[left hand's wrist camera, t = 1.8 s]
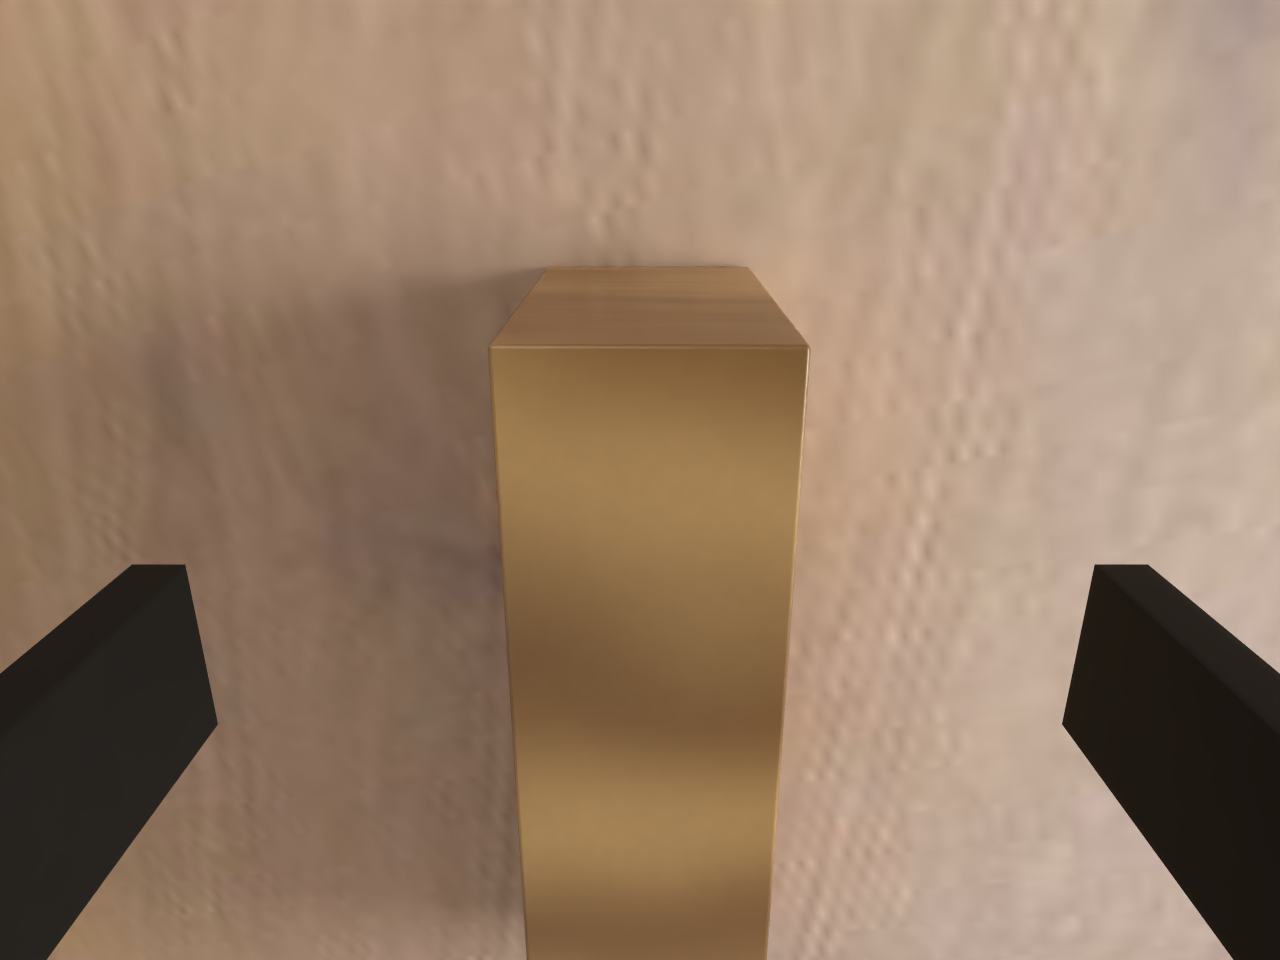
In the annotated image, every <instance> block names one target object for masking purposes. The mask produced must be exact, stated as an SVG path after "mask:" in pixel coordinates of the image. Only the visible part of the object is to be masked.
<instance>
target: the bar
mask: <svg viewBox="0 0 1280 960" xmlns="http://www.w3.org/2000/svg"><path fill="white" fill-rule="evenodd" d="M488 356H489V372H490V388H491V404H492V419H493V435H494V451H495V467H496V482H497V498H498V514H499V530H500V545H501V561H502V577H503V593H504V608H505V624H506V640H507V656H508V671H509V687H510V703H511V719H512V734H513V750H514V766H515V782H516V797H517V813H518V829H519V845H520V860H521V876H522V892H523V908H524V923H525V939H526V955H527V960H767V948H768V934H769V920H770V906H771V892H772V878H773V864H774V850H775V837H776V823H777V809H778V795H779V781H780V767H781V753H782V739H783V725H784V711H785V697H786V683H787V669H788V656H789V642H790V628H791V614H792V600H793V586H794V572H795V558H796V544H797V530H798V516H799V502H800V488H801V475H802V461H803V447H804V433H805V419H806V405H807V391H808V377H809V363H810V347H809V345H808V344H807V342H806V341H805V340H804V338H803V337H802V336H801V335H800V333H799V332H798V331H797V329H796V328H795V327H794V325H793V324H792V323H791V322H790V320H789V319H788V318H787V316H786V315H785V314H784V313H783V311H782V310H781V309H780V307H779V306H778V305H777V303H776V302H775V301H774V300H773V298H772V297H771V296H770V294H769V293H768V292H767V290H766V289H765V288H764V287H763V285H762V284H761V283H760V281H759V280H758V279H757V277H756V276H755V275H754V274H753V272H752V271H751V270H750V268H748V267H548V268H547V270H546V271H545V272H544V273H543V275H542V276H541V277H540V279H539V280H538V281H537V283H536V284H535V285H534V287H533V288H532V289H531V291H530V292H529V293H528V295H527V296H526V297H525V299H524V300H523V301H522V303H521V304H520V305H519V307H518V308H517V309H516V311H515V312H514V313H513V315H512V316H511V317H510V319H509V320H508V321H507V322H506V324H505V325H504V326H503V328H502V329H501V330H500V332H499V333H498V334H497V336H496V337H495V338H494V340H493V341H492V342H491V344H490V345H489V347H488Z"/></svg>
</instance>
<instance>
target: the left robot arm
mask: <svg viewBox="0 0 1280 960" xmlns="http://www.w3.org/2000/svg"><path fill="white" fill-rule="evenodd" d="M217 725H218V722H217V718H216V713H215V708H214V703H213V698H212V693H211V688H210V683H209V678H208V674H207V669H206V664H205V659H204V654H203V649H202V644H201V639H200V634H199V630H198V625H197V620H196V615H195V610H194V605H193V600H192V595H191V590H190V586H189V581H188V576H187V571H186V566H185V565H131V566H130V567H129V568H127V569H126V570H125V571H124V572H123V573H121V574H120V575H119V576H118V577H117V578H115V579H114V580H113V581H112V582H111V583H109V584H108V585H107V586H106V587H104V588H103V589H102V590H101V591H100V592H98V593H97V594H96V595H95V596H94V597H92V598H91V599H90V600H89V601H88V602H86V603H85V604H84V605H83V606H82V607H80V608H79V609H78V610H77V611H75V612H74V613H73V614H72V615H71V616H69V617H68V618H67V619H66V620H65V621H63V622H62V623H61V624H60V625H59V626H57V627H56V628H55V629H54V630H53V631H51V632H50V633H49V634H48V635H46V636H45V637H44V638H43V639H42V640H40V641H39V642H38V643H37V644H36V645H34V646H33V647H32V648H31V649H30V650H28V651H27V652H26V653H25V654H24V655H22V656H21V657H20V658H19V659H17V660H16V661H15V662H14V663H13V664H11V665H10V666H9V667H8V668H7V669H5V670H4V671H3V672H2V673H1V674H0V960H47V958H48V957H49V956H50V954H51V953H52V951H53V950H54V949H55V947H56V946H57V945H58V943H59V942H60V940H61V939H62V938H63V936H64V935H65V934H66V932H67V931H68V929H69V928H70V927H71V925H72V924H73V923H74V921H75V920H76V918H77V917H78V916H79V914H80V913H81V912H82V910H83V909H84V907H85V906H86V905H87V903H88V902H89V901H90V899H91V898H92V896H93V895H94V894H95V892H96V891H97V890H98V888H99V887H100V885H101V884H102V883H103V881H104V880H105V879H106V877H107V876H108V874H109V873H110V872H111V870H112V869H113V868H114V866H115V865H116V863H117V862H118V861H119V859H120V858H121V857H122V855H123V854H124V852H125V851H126V850H127V848H128V847H129V846H130V844H131V843H132V842H133V840H134V839H135V837H136V836H137V835H138V833H139V832H140V831H141V829H142V828H143V826H144V825H145V824H146V822H147V821H148V820H149V818H150V817H151V815H152V814H153V813H154V811H155V810H156V809H157V807H158V806H159V804H160V803H161V802H162V800H163V799H164V798H165V796H166V795H167V793H168V792H169V791H170V789H171V788H172V787H173V785H174V784H175V782H176V781H177V780H178V778H179V777H180V776H181V774H182V773H183V771H184V770H185V769H186V767H187V766H188V765H189V763H190V762H191V760H192V759H193V758H194V756H195V755H196V754H197V752H198V751H199V749H200V748H201V747H202V745H203V744H204V743H205V741H206V740H207V738H208V737H209V736H210V734H211V733H212V732H213V730H214V729H215V727H216V726H217ZM1062 725H1063V726H1064V727H1065V729H1066V730H1067V732H1068V733H1069V734H1070V736H1071V737H1072V738H1073V740H1074V741H1075V743H1076V744H1077V745H1078V747H1079V748H1080V749H1081V751H1082V752H1083V754H1084V755H1085V756H1086V758H1087V759H1088V760H1089V762H1090V763H1091V765H1092V766H1093V767H1094V769H1095V770H1096V771H1097V773H1098V774H1099V776H1100V777H1101V778H1102V780H1103V781H1104V782H1105V784H1106V785H1107V787H1108V788H1109V789H1110V791H1111V792H1112V793H1113V795H1114V796H1115V798H1116V799H1117V800H1118V802H1119V803H1120V804H1121V806H1122V807H1123V809H1124V810H1125V811H1126V813H1127V814H1128V815H1129V817H1130V818H1131V820H1132V821H1133V822H1134V824H1135V825H1136V826H1137V828H1138V829H1139V831H1140V832H1141V833H1142V835H1143V836H1144V837H1145V839H1146V840H1147V842H1148V843H1149V844H1150V846H1151V847H1152V848H1153V850H1154V851H1155V852H1156V854H1157V855H1158V857H1159V858H1160V859H1161V861H1162V862H1163V863H1164V865H1165V866H1166V868H1167V869H1168V870H1169V872H1170V873H1171V874H1172V876H1173V877H1174V879H1175V880H1176V881H1177V883H1178V884H1179V885H1180V887H1181V888H1182V890H1183V891H1184V892H1185V894H1186V895H1187V896H1188V898H1189V899H1190V901H1191V902H1192V903H1193V905H1194V906H1195V907H1196V909H1197V910H1198V912H1199V913H1200V914H1201V916H1202V917H1203V918H1204V920H1205V921H1206V923H1207V924H1208V925H1209V927H1210V928H1211V929H1212V931H1213V932H1214V934H1215V935H1216V936H1217V938H1218V939H1219V940H1220V942H1221V943H1222V945H1223V946H1224V947H1225V949H1226V950H1227V951H1228V953H1229V954H1230V956H1231V957H1232V958H1233V960H1280V674H1279V673H1278V672H1277V671H1276V670H1275V669H1273V668H1272V667H1271V666H1270V665H1269V664H1267V663H1266V662H1265V661H1264V660H1263V659H1261V658H1260V657H1259V656H1258V655H1256V654H1255V653H1254V652H1253V651H1252V650H1250V649H1249V648H1248V647H1247V646H1246V645H1244V644H1243V643H1242V642H1241V641H1240V640H1238V639H1237V638H1236V637H1235V636H1234V635H1232V634H1231V633H1230V632H1229V631H1227V630H1226V629H1225V628H1224V627H1223V626H1221V625H1220V624H1219V623H1218V622H1217V621H1215V620H1214V619H1213V618H1212V617H1211V616H1209V615H1208V614H1207V613H1206V612H1205V611H1203V610H1202V609H1201V608H1200V607H1198V606H1197V605H1196V604H1195V603H1194V602H1192V601H1191V600H1190V599H1189V598H1188V597H1186V596H1185V595H1184V594H1183V593H1182V592H1180V591H1179V590H1178V589H1177V588H1176V587H1174V586H1173V585H1172V584H1171V583H1169V582H1168V581H1167V580H1166V579H1165V578H1163V577H1162V576H1161V575H1160V574H1159V573H1157V572H1156V571H1155V570H1154V569H1153V568H1151V567H1150V566H1149V565H1095V566H1094V571H1093V576H1092V581H1091V586H1090V590H1089V595H1088V600H1087V605H1086V610H1085V615H1084V620H1083V625H1082V630H1081V634H1080V639H1079V644H1078V649H1077V654H1076V659H1075V664H1074V669H1073V674H1072V678H1071V683H1070V688H1069V693H1068V698H1067V703H1066V708H1065V713H1064V718H1063V722H1062Z"/></svg>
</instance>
